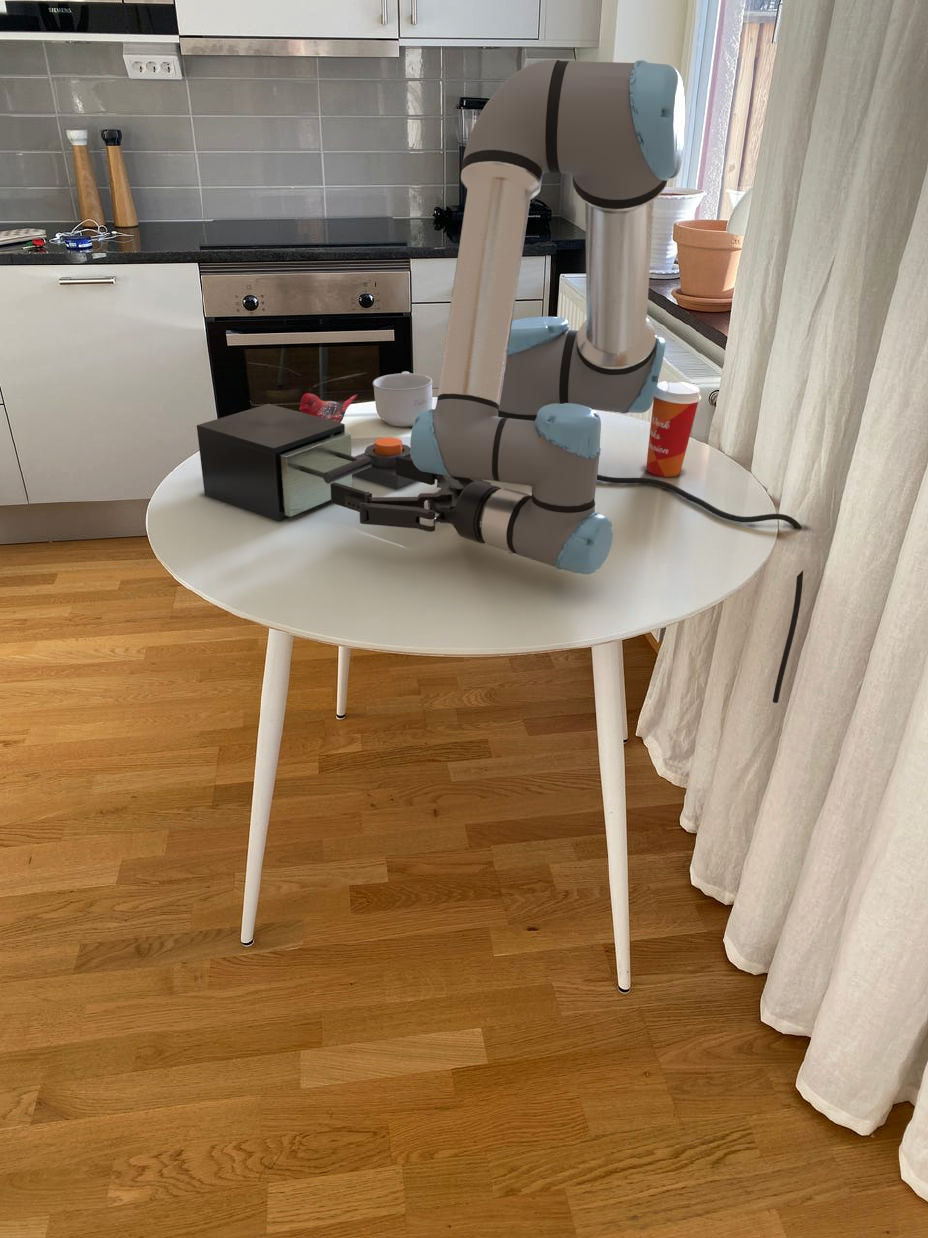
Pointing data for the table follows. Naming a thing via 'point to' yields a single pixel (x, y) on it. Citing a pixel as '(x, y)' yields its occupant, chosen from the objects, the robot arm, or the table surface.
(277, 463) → the cabinet
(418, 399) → the teacup
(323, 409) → the decorative bird figurine
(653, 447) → the paper cup
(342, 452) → the drawer
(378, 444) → the button
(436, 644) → the table surface
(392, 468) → the block
